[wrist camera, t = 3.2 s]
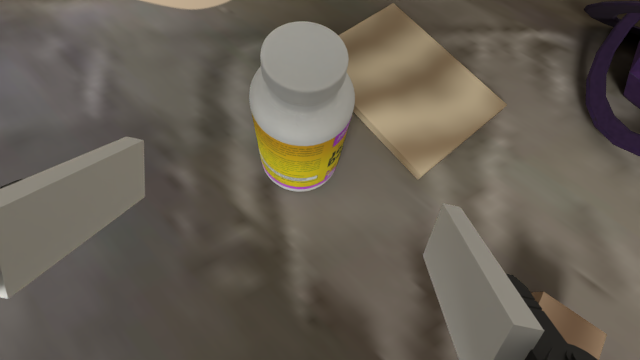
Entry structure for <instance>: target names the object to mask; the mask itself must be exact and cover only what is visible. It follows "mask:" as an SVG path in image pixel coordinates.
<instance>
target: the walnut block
mask: <svg viewBox="0 0 640 360" xmlns="http://www.w3.org/2000/svg"><path fill="white" fill-rule="evenodd" d="M531 294H532V295H533V297H534V298H535V301H537V302H538V304H539V305H540V306H541V308H542V311H544V312H545V313H546V315H547V316H548V317H549V319H550V320H551V321H552V323H553V324H554V326H555V327H556V328H557V330H558V331H559V332H560V334H561V335H562V337H563V338H564V339H565V341H566V342H567V343H568V344H572V345H575V346H577V347H579V348H581V349H583V350H585V351H587V352H588V353H589V354H591V355H592V356H594V357H595V358H596V359H598V360H599V358H600V354H601V351H602V348H603V345H604V342H605V339H606V336H607V334H606V333H604V332H603V331H601V330H600V329H598V328H597V327H595V326H594V325H592V324H591V323H589V322H588V321H586V320H585V319H583V318H582V317H581V316H579V315H578V314H576V313H575V312H573V311H572V310H570V309H569V308H567V307H566V306H564V305H563V304H561V303H560V302H558V301H557V300H555V299H554V298H553V297H551V296H550V295H548V294H547V293H545V292H531Z"/></svg>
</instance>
